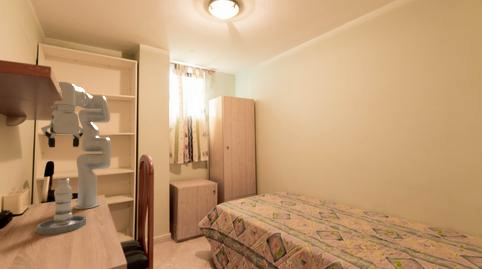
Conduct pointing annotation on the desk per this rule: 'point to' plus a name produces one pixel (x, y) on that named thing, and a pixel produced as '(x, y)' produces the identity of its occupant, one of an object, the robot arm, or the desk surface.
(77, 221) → the round tray
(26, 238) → the desk surface
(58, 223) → the plastic bottle
